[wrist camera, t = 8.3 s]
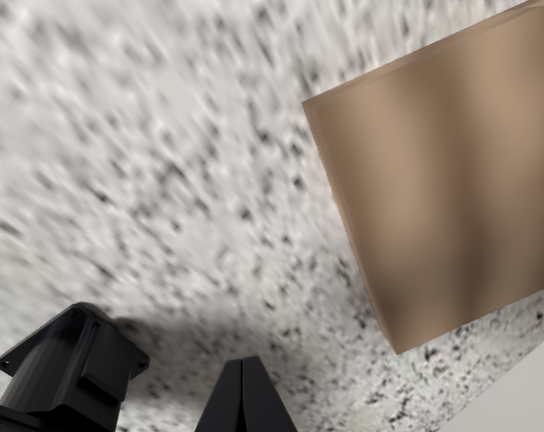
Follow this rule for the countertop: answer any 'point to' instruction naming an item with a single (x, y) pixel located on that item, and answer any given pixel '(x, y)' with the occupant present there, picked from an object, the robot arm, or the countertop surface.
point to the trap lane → (443, 175)
